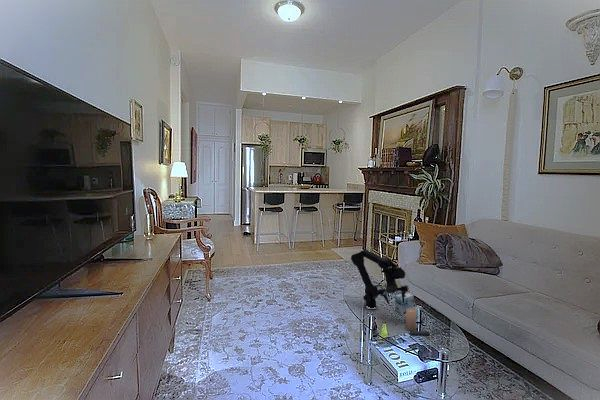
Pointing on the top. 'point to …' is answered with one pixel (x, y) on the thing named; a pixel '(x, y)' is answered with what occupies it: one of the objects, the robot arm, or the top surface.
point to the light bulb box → (407, 302)
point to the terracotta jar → (411, 319)
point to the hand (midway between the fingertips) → (396, 303)
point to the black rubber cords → (419, 331)
